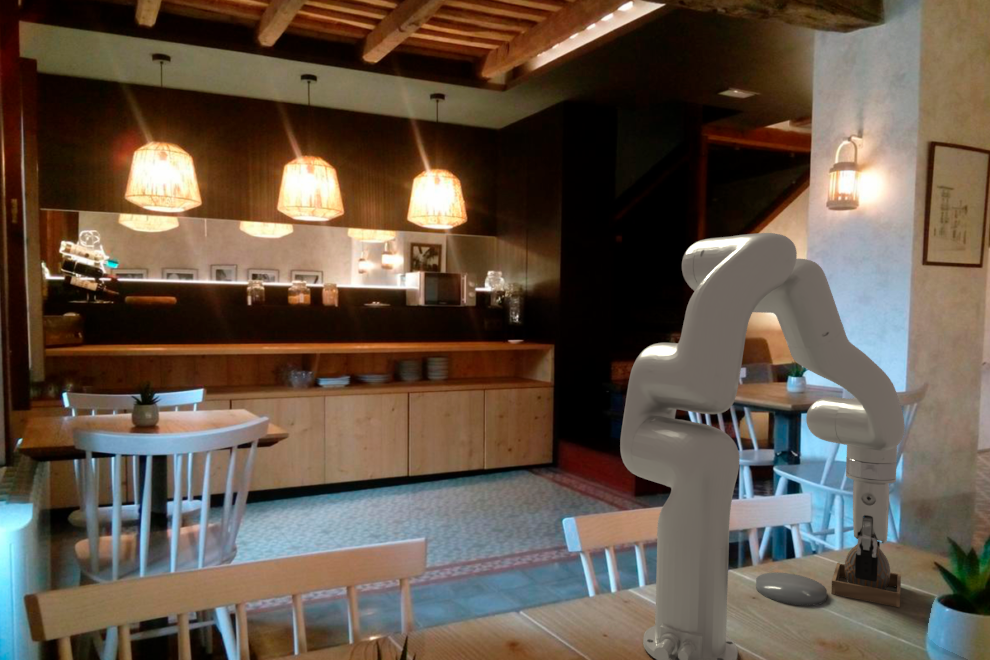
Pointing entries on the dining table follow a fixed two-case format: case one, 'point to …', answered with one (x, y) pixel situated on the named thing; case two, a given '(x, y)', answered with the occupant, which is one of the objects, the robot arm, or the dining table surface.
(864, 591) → the holder
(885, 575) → the vase
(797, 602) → the plate
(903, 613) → the dining table surface
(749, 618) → the dining table surface
